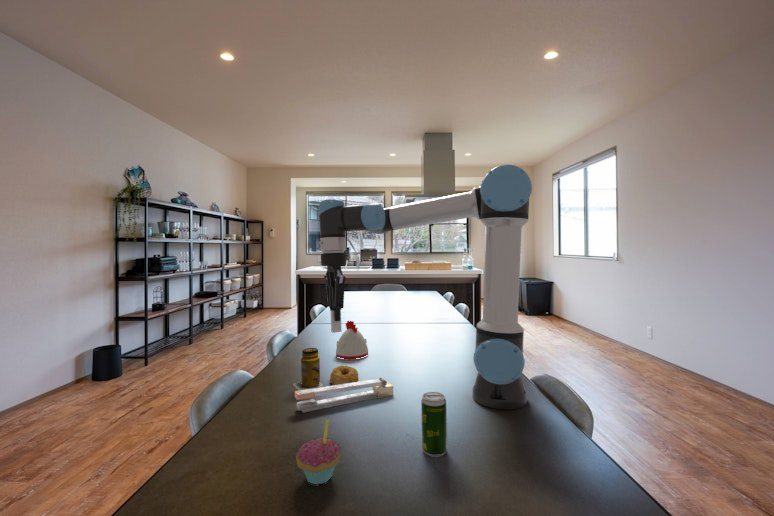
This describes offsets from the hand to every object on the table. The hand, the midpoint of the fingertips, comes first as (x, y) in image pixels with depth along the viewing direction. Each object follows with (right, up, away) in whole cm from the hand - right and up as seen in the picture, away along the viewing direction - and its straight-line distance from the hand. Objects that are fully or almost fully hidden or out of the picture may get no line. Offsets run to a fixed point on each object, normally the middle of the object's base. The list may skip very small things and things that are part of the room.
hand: (336, 331), depth 105 cm
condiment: (-11, -21, +14) cm, 28 cm away
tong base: (+3, -21, -1) cm, 21 cm away
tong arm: (+2, -17, -1) cm, 17 cm away
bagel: (0, -21, +16) cm, 27 cm away
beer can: (+25, -21, -28) cm, 43 cm away
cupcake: (+2, -21, -36) cm, 42 cm away
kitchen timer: (0, -21, +49) cm, 53 cm away
